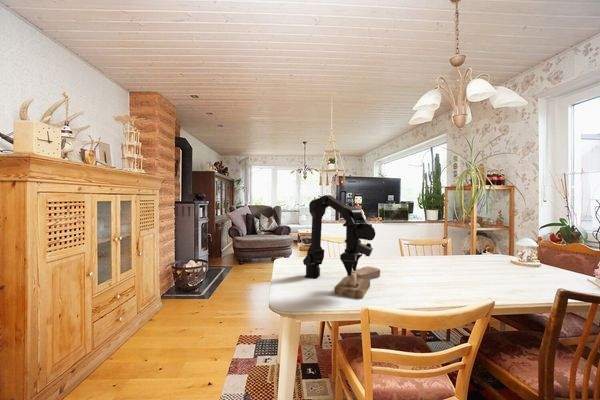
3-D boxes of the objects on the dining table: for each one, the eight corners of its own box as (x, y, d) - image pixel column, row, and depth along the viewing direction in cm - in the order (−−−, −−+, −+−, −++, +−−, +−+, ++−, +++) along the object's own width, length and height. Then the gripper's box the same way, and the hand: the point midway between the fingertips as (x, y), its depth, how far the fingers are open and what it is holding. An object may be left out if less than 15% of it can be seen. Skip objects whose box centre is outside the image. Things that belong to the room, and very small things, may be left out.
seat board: (334, 294, 122) (334, 287, 122) (344, 282, 138) (345, 276, 138) (362, 298, 117) (362, 291, 117) (370, 286, 133) (370, 279, 133)
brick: (359, 283, 139) (359, 273, 139) (347, 278, 146) (347, 269, 146) (380, 277, 149) (381, 268, 149) (368, 274, 156) (368, 265, 155)
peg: (345, 292, 124) (345, 274, 124) (347, 289, 127) (348, 272, 127) (355, 294, 122) (355, 275, 122) (357, 291, 126) (357, 273, 126)
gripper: (367, 241, 112) (366, 281, 113) (374, 236, 130) (374, 270, 130) (340, 239, 117) (339, 277, 117) (350, 234, 134) (350, 267, 134)
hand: (352, 273), depth 124 cm, fingers open, 9 cm apart
